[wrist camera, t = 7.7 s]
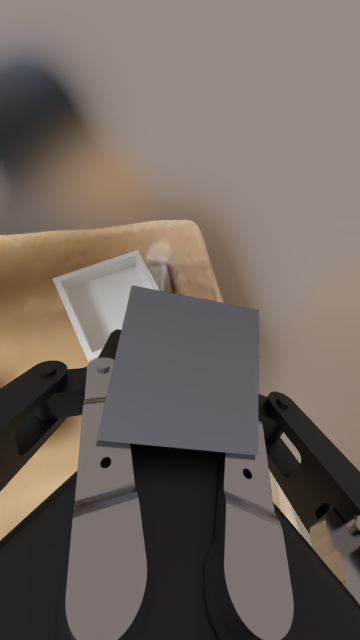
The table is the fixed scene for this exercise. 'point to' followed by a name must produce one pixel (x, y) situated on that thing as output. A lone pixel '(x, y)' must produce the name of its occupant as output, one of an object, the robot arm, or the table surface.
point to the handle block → (184, 375)
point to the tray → (101, 297)
